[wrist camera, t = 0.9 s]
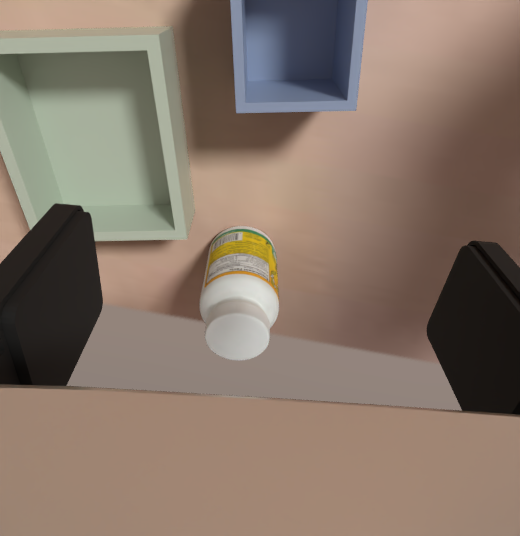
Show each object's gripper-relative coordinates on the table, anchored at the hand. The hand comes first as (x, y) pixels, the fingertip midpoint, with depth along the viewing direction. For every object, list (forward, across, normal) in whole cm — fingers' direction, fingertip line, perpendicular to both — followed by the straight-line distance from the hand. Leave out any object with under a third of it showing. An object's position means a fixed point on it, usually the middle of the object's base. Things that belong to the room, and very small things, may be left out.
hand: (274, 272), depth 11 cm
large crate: (+20, +10, +3) cm, 23 cm away
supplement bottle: (+20, 0, +12) cm, 23 cm away
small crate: (+20, -1, -5) cm, 20 cm away
